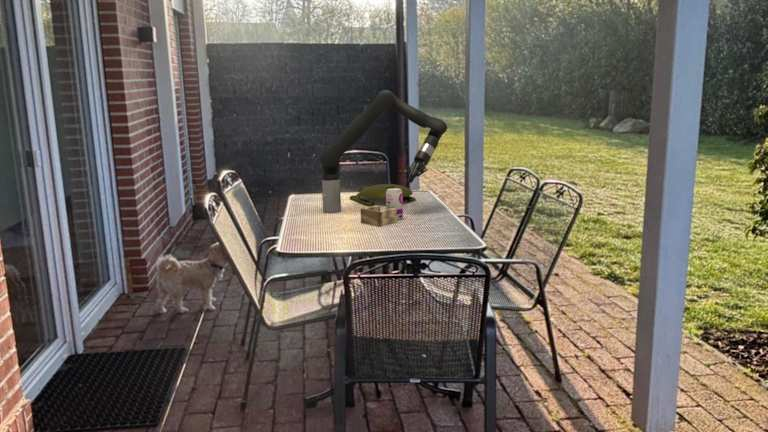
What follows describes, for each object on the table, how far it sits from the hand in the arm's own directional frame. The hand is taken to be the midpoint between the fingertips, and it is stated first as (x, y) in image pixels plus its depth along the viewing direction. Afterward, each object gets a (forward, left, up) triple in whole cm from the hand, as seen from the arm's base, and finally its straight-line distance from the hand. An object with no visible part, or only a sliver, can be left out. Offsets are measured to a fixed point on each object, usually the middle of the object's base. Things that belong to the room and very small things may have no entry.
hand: (409, 182), depth 327 cm
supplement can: (-9, -5, -18) cm, 20 cm away
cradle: (-18, -10, -17) cm, 27 cm away
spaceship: (-1, +47, -18) cm, 50 cm away
